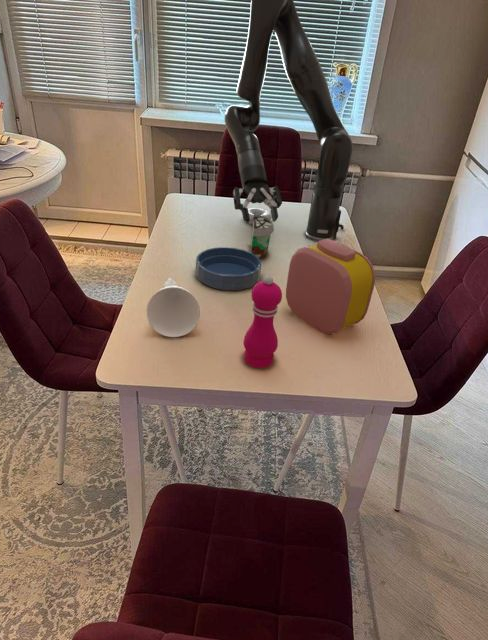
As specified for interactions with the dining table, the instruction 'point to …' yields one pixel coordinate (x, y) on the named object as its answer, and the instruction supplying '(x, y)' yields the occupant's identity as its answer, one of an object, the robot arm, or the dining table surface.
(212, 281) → the bowl
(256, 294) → the pepper mill
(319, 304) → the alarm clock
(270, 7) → the robot arm
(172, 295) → the rocket engine
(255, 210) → the donut
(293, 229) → the dining table surface
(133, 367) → the dining table surface
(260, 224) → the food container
